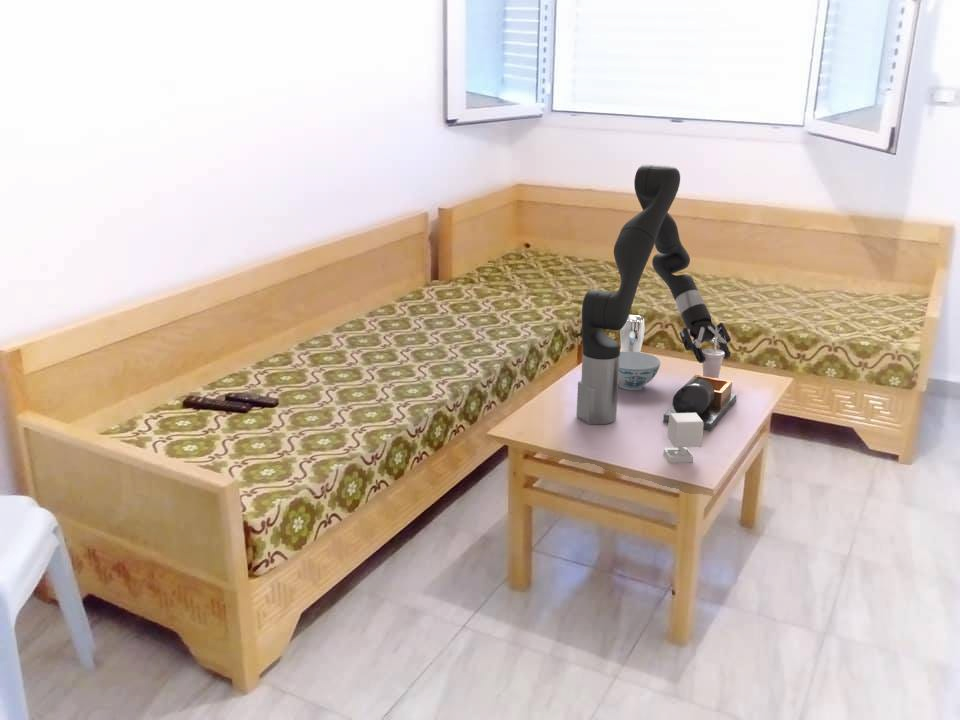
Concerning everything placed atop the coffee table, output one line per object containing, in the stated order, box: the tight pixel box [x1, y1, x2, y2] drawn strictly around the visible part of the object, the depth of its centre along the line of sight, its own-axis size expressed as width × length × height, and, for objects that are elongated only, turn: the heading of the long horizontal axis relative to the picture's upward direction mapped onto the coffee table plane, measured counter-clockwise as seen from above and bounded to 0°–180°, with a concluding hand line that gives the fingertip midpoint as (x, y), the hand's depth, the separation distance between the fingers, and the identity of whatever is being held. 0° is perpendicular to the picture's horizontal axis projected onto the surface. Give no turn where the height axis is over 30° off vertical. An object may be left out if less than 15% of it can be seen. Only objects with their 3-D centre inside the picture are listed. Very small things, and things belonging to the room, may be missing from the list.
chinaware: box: [618, 351, 661, 391], centre depth 251 cm, size 15×15×8 cm
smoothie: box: [701, 336, 725, 379], centre depth 251 cm, size 6×6×14 cm
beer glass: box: [619, 314, 645, 352], centre depth 265 cm, size 7×7×15 cm
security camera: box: [663, 413, 704, 464], centre depth 206 cm, size 6×7×10 cm
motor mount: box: [663, 374, 737, 432], centre depth 233 cm, size 24×12×10 cm, turn 150°
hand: (715, 359), depth 250 cm, fingers open, 8 cm apart
